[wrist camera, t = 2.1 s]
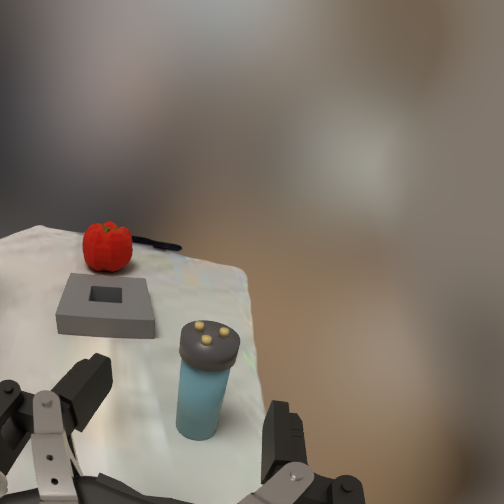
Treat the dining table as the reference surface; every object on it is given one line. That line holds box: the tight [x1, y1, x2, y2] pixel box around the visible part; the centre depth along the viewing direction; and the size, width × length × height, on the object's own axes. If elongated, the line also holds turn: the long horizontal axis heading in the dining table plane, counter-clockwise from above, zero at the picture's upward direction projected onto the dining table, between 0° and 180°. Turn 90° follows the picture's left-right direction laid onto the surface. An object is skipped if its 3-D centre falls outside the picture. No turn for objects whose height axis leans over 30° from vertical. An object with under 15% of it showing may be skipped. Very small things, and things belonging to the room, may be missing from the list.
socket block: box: [56, 273, 155, 339], centre depth 44 cm, size 16×16×4 cm
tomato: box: [83, 222, 133, 272], centre depth 61 cm, size 14×13×10 cm
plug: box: [176, 320, 240, 441], centre depth 25 cm, size 5×5×14 cm
